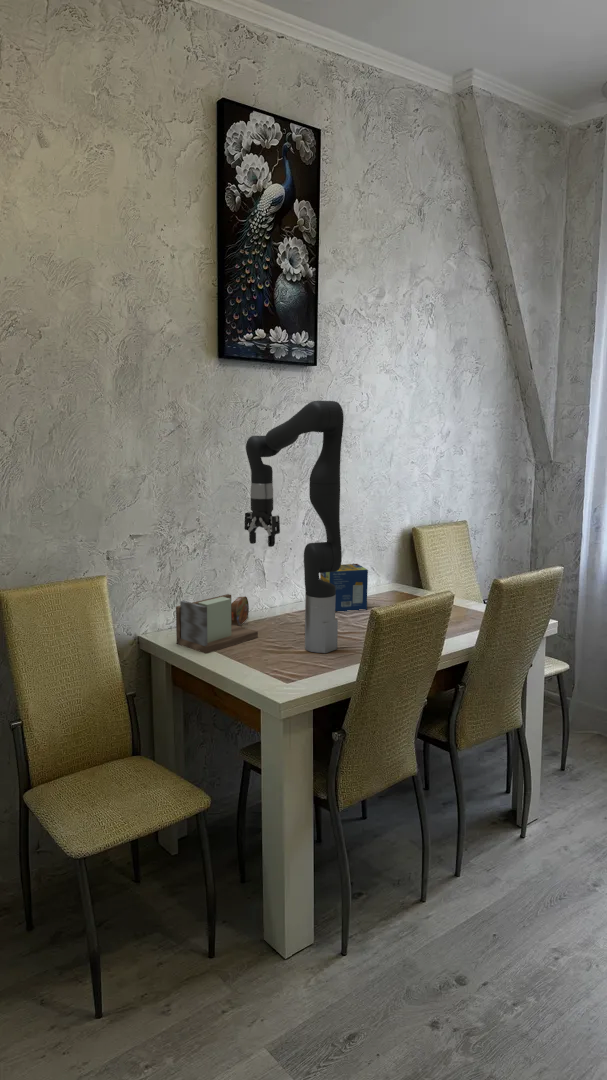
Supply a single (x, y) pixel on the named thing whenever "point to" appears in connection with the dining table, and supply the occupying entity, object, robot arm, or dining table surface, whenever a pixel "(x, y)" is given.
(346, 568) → the protein box
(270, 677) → the dining table surface
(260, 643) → the dining table surface
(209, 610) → the sage green tall block
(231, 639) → the bookshelf
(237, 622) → the tin
